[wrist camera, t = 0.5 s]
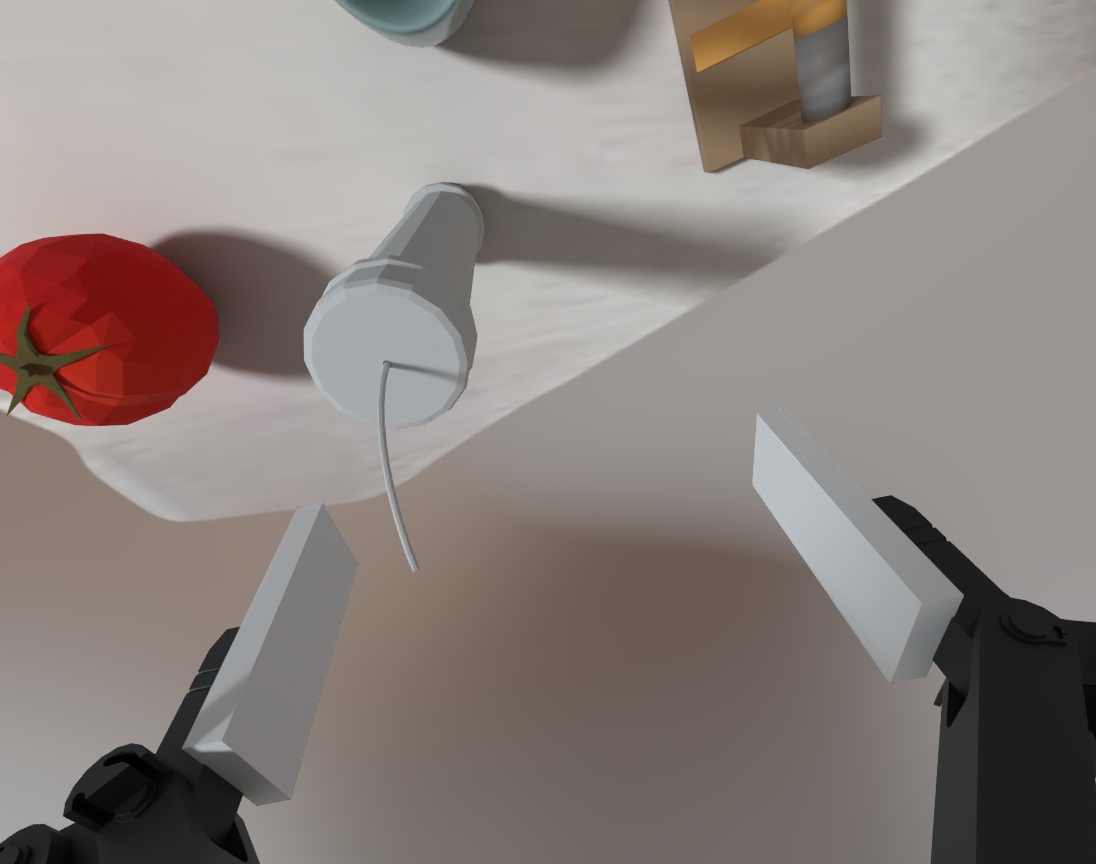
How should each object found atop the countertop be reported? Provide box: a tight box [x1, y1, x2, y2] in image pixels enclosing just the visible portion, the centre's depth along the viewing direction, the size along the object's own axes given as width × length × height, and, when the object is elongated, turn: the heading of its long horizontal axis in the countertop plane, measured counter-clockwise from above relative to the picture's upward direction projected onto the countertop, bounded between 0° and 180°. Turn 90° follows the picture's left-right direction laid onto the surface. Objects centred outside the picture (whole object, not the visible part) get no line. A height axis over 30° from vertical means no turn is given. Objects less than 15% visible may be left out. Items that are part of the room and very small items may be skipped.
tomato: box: [0, 234, 219, 426], centre depth 32 cm, size 12×12×13 cm
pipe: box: [304, 182, 485, 571], centre depth 24 cm, size 6×6×30 cm
